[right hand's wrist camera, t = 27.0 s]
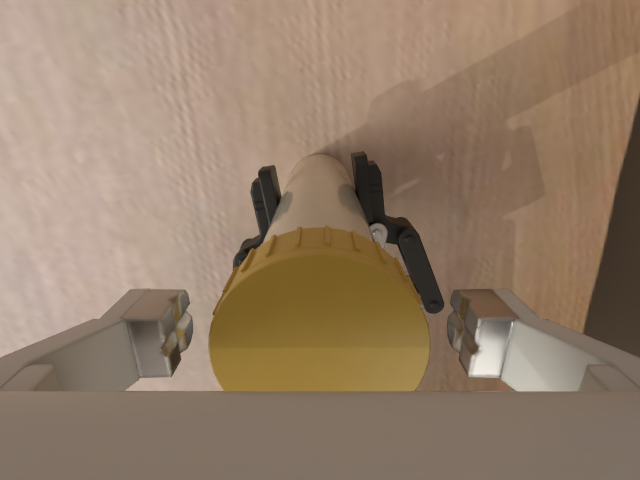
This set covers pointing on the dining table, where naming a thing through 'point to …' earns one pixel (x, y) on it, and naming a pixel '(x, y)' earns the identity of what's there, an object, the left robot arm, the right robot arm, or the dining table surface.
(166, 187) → the dining table surface
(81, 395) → the right robot arm
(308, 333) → the lid
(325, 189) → the bottle
